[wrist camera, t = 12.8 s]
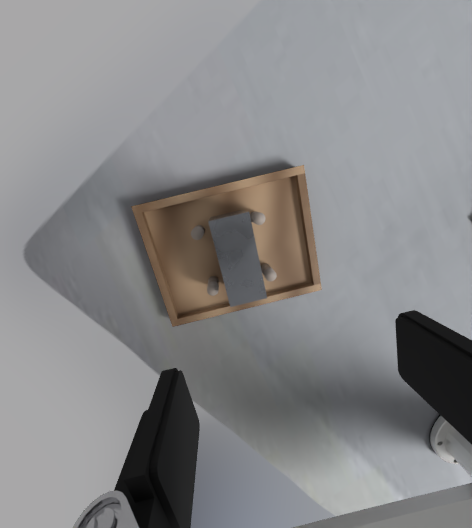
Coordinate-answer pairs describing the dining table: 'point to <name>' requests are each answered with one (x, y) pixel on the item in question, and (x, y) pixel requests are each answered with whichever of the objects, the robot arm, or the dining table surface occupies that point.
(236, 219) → the block
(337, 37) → the dining table surface
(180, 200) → the pin tray
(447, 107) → the dining table surface
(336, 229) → the dining table surface
